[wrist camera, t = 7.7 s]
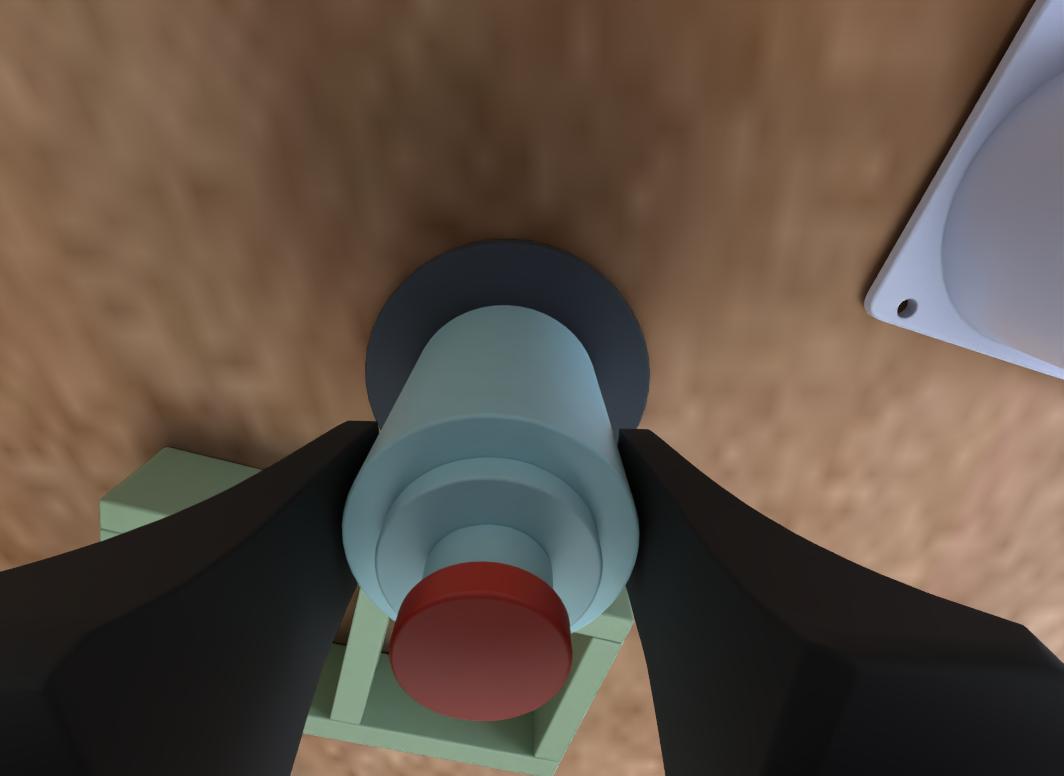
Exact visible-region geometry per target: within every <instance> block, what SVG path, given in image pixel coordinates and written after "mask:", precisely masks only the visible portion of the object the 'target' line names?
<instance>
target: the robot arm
mask: <svg viewBox="0 0 1064 776" xmlns="http://www.w3.org/2000/svg"><path fill="white" fill-rule="evenodd" d="M905 300H907V301H908V304H907V307H906V308H905V309H904V310H903V312H901V313H898V314H897V309H898V306H899V305H900V304H901V303H902V301H905ZM864 309H865V310H866V312H867V314H869V315H870V316H872V317H874V318H876V319H878V320H880V321H883V322H886V323H890V324H893V325H896V326H899V327H902V328H905V329H908V330H911V331H914V332H917V333H920V334H924V335H927V336H930V337H933V338H936V339H939V340H942V341H945V342H948V343H951V344H954V345H957V346H961V347H964V348H967V349H970V350H973V351H976V352H979V353H982V354H985V355H988V356H991V357H995V358H998V359H1001V360H1004V361H1007V362H1010V363H1013V364H1016V365H1019V366H1022V367H1025V368H1028V369H1032V370H1035V371H1038V372H1041V373H1044V374H1047V375H1050V376H1053V377H1056V378H1059V379H1062V380H1064V0H1036V1H1035V3H1034V4H1033V6H1032V8H1031V10H1030V11H1029V13H1028V15H1027V17H1026V18H1025V20H1024V22H1023V23H1022V25H1021V27H1020V29H1019V30H1018V32H1017V34H1016V36H1015V37H1014V39H1013V41H1012V43H1011V44H1010V46H1009V48H1008V50H1007V51H1006V53H1005V55H1004V57H1003V58H1002V60H1001V62H1000V63H999V65H998V67H997V69H996V70H995V72H994V74H993V76H992V77H991V79H990V81H989V83H988V84H987V86H986V88H985V90H984V91H983V93H982V95H981V97H980V98H979V100H978V102H977V103H976V105H975V107H974V109H973V110H972V112H971V114H970V116H969V117H968V119H967V121H966V123H965V124H964V126H963V128H962V130H961V131H960V133H959V135H958V137H957V138H956V140H955V142H954V143H953V145H952V147H951V149H950V150H949V152H948V154H947V156H946V157H945V159H944V161H943V163H942V164H941V166H940V168H939V170H938V171H937V173H936V175H935V177H934V178H933V180H932V182H931V183H930V185H929V187H928V189H927V190H926V192H925V194H924V196H923V197H922V199H921V201H920V203H919V204H918V206H917V208H916V210H915V211H914V213H913V215H912V217H911V218H910V220H909V222H908V223H907V225H906V227H905V229H904V230H903V232H902V234H901V236H900V237H899V239H898V241H897V243H896V244H895V246H894V248H893V250H892V251H891V253H890V255H889V257H888V258H887V260H886V262H885V263H884V265H883V267H882V269H881V270H880V272H879V274H878V276H877V277H876V279H875V281H874V283H873V284H872V286H871V288H870V290H869V291H868V293H867V295H866V298H865V300H864ZM378 435H379V428H378V421H347V422H345V423H342V424H340V425H339V426H337V427H335V428H333V429H331V430H330V431H328V432H326V433H325V434H323V435H321V436H320V437H318V438H316V439H315V440H313V441H312V442H310V443H308V444H307V445H305V446H303V447H302V448H300V449H298V450H297V451H295V452H293V453H292V454H290V455H288V456H287V457H285V458H283V459H282V460H280V461H278V462H277V463H275V464H273V465H271V466H269V467H268V468H266V469H264V470H262V471H260V472H258V473H257V474H255V475H253V476H251V477H249V478H247V479H246V480H244V481H242V482H240V483H238V484H236V485H235V486H233V487H231V488H229V489H227V490H225V491H223V492H221V493H219V494H217V495H215V496H212V497H210V498H208V499H206V500H204V501H202V502H200V503H197V504H195V505H193V506H190V507H188V508H186V509H184V510H181V511H179V512H177V513H175V514H172V515H170V516H167V517H165V518H162V519H160V520H157V521H154V522H152V523H149V524H146V525H144V526H141V527H138V528H136V529H133V530H130V531H128V532H125V533H122V534H120V535H117V536H114V537H112V538H109V539H106V540H103V541H101V542H98V543H95V544H92V545H89V546H85V547H82V548H79V549H76V550H73V551H70V552H67V553H64V554H60V555H57V556H54V557H50V558H47V559H44V560H40V561H37V562H33V563H30V564H27V565H23V566H20V567H16V568H13V569H9V570H5V571H2V572H0V776H290V774H291V771H292V767H293V764H294V761H295V757H296V754H297V750H298V747H299V744H300V740H301V737H302V733H303V730H304V727H305V723H306V720H307V716H308V713H309V710H310V707H311V704H312V701H313V697H314V694H315V691H316V688H317V685H318V682H319V678H320V675H321V672H322V669H323V666H324V663H325V660H326V657H327V655H328V652H329V650H330V647H331V644H332V642H333V639H334V637H335V635H336V632H337V630H338V628H339V625H340V623H341V621H342V618H343V616H344V614H345V611H346V609H347V607H348V605H349V602H350V600H351V598H352V595H353V593H354V591H355V588H356V586H357V584H358V582H357V581H356V579H355V577H354V575H353V574H352V571H351V569H350V566H349V564H348V561H347V559H346V554H345V550H344V545H343V538H342V519H343V510H344V506H345V503H346V499H347V496H348V493H349V491H350V489H351V487H352V485H353V483H354V481H355V478H356V477H357V475H358V473H359V471H360V469H361V467H362V465H363V463H364V461H365V460H366V458H367V456H368V454H369V452H370V450H371V448H372V446H373V444H374V442H375V441H376V439H377V437H378ZM617 447H618V450H619V453H620V457H621V460H622V463H623V467H624V470H625V473H626V476H627V480H628V483H629V486H630V489H631V493H632V496H633V499H634V503H635V507H636V510H637V514H638V519H639V530H640V537H639V549H638V553H637V558H636V562H635V565H634V568H633V570H632V573H631V575H630V577H629V580H628V581H627V583H626V585H625V586H626V590H627V593H628V597H629V600H630V604H631V607H632V611H633V614H634V618H635V622H636V625H637V629H638V632H639V636H640V639H641V643H642V647H643V651H644V655H645V659H646V664H647V668H648V673H649V679H650V685H651V691H652V696H653V702H654V708H655V714H656V719H657V725H658V732H659V738H660V744H661V751H662V757H663V763H664V769H665V776H1064V664H1063V663H1062V662H1061V661H1060V660H1059V659H1058V658H1057V657H1056V656H1055V655H1054V654H1053V653H1052V652H1051V651H1050V650H1049V649H1048V648H1047V647H1046V646H1045V645H1044V644H1043V643H1042V642H1041V641H1040V640H1039V639H1038V638H1037V637H1036V636H1035V635H1034V634H1033V633H1031V632H1030V631H1029V630H1028V629H1027V628H1026V627H1025V626H1023V625H1021V624H1018V623H1015V622H1012V621H1009V620H1006V619H1003V618H1000V617H997V616H994V615H991V614H988V613H985V612H982V611H979V610H976V609H973V608H970V607H967V606H964V605H961V604H958V603H956V602H953V601H950V600H947V599H944V598H941V597H938V596H935V595H932V594H929V593H927V592H924V591H921V590H919V589H916V588H914V587H911V586H909V585H906V584H904V583H901V582H899V581H896V580H894V579H891V578H889V577H886V576H884V575H881V574H879V573H877V572H874V571H872V570H870V569H867V568H865V567H863V566H861V565H858V564H856V563H854V562H852V561H849V560H847V559H845V558H843V557H841V556H839V555H837V554H835V553H833V552H831V551H829V550H827V549H825V548H823V547H820V546H818V545H816V544H814V543H812V542H810V541H808V540H807V539H805V538H803V537H801V536H799V535H797V534H795V533H793V532H792V531H790V530H788V529H786V528H785V527H783V526H781V525H780V524H778V523H776V522H774V521H773V520H771V519H769V518H768V517H766V516H764V515H762V514H761V513H759V512H758V511H756V510H755V509H753V508H751V507H750V506H748V505H747V504H745V503H744V502H742V501H741V500H740V499H738V498H737V497H735V496H734V495H732V494H731V493H729V492H728V491H727V490H725V489H724V488H722V487H721V486H720V485H718V484H717V483H716V482H714V481H713V480H712V479H710V478H709V477H708V476H706V475H705V474H704V473H702V472H701V471H700V470H699V469H697V468H696V467H695V466H694V465H692V464H691V463H690V462H689V461H687V460H686V459H685V458H684V457H682V456H681V455H680V454H679V453H678V452H676V451H675V450H674V449H673V448H672V447H670V446H669V445H668V444H667V443H666V442H664V441H663V440H662V439H661V438H659V437H658V436H657V435H656V434H654V433H653V432H652V431H650V430H649V429H619V437H618V446H617Z"/></svg>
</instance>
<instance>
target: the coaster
mask: <svg viewBox="0 0 1064 776" xmlns="http://www.w3.org/2000/svg"><path fill="white" fill-rule="evenodd" d="M496 305H510V306H520V307H525V308H529V309H533V310H536V311H538V312H541V313H544V314H546V315H548V316H550V317H551V318H553V319H555V320H557V321H558V322H560V323H561V324H562V325H564V326H565V327H566V328H567V329H568V330H570V331H571V332H572V333H573V334H574V335H575V336H576V338H577V339H578V340H579V341H580V342H581V344H582V345H583V347H584V348H585V350H586V352H587V353H588V355H589V358H590V360H591V362H592V365H593V368H594V371H595V375H596V378H597V381H598V385H599V388H600V391H601V394H602V398H603V401H604V404H605V408H606V411H607V414H608V417H609V421H610V424H611V427H612V430H613V434H614V437H615V440H616V444H617V446H618V437H619V429H637V427H638V425H639V423H640V421H641V418H642V415H643V412H644V410H645V406H646V402H647V397H648V392H649V380H650V369H649V357H648V352H647V348H646V343H645V339H644V336H643V334H642V331H641V329H640V326H639V323H638V321H637V320H636V318H635V316H634V314H633V312H632V310H631V309H630V307H629V305H628V304H627V302H626V301H625V300H624V298H623V297H622V296H621V294H620V293H619V292H618V290H617V289H616V288H615V287H614V286H613V285H612V284H611V283H610V282H609V281H608V280H607V279H606V278H605V277H604V276H603V275H602V274H601V273H600V272H599V271H597V270H596V269H595V268H593V267H592V266H591V265H589V264H588V263H587V262H585V261H583V260H581V259H579V258H578V257H576V256H574V255H572V254H570V253H568V252H566V251H563V250H561V249H558V248H555V247H553V246H550V245H546V244H542V243H538V242H533V241H526V240H517V239H493V240H486V241H480V242H474V243H470V244H466V245H463V246H460V247H457V248H454V249H451V250H449V251H447V252H445V253H443V254H441V255H438V256H436V257H434V258H433V259H431V260H430V261H428V262H427V263H425V264H424V265H422V266H421V267H419V268H418V269H417V270H416V271H415V272H414V273H412V274H411V275H410V276H409V277H408V278H407V279H406V280H405V281H404V282H403V283H402V284H401V285H400V286H399V287H398V288H397V290H396V291H395V292H394V293H393V294H392V295H391V297H390V298H389V299H388V301H387V302H386V304H385V306H384V307H383V309H382V310H381V312H380V314H379V316H378V318H377V320H376V322H375V325H374V327H373V329H372V332H371V336H370V340H369V343H368V347H367V355H366V363H365V373H366V387H367V392H368V398H369V402H370V405H371V408H372V411H373V414H374V417H375V419H376V421H378V425H379V428H380V430H381V429H382V427H383V425H384V424H385V422H386V420H387V418H388V416H389V414H390V412H391V410H392V408H393V406H394V405H395V403H396V401H397V399H398V397H399V395H400V393H401V391H402V389H403V387H404V386H405V384H406V382H407V380H408V378H409V376H410V374H411V372H412V370H413V369H414V367H415V365H416V363H417V361H418V359H419V357H420V355H421V353H422V351H423V350H424V348H425V346H426V345H427V343H428V342H429V341H430V339H431V338H432V337H433V336H434V335H435V334H436V332H437V331H438V330H439V329H441V328H442V327H443V326H444V325H445V324H447V323H448V322H450V321H451V320H453V319H454V318H456V317H458V316H460V315H462V314H464V313H466V312H469V311H472V310H475V309H478V308H482V307H488V306H496Z"/></svg>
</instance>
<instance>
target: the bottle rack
mask: <svg viewBox="0 0 1064 776" xmlns="http://www.w3.org/2000/svg"><path fill="white" fill-rule="evenodd" d="M260 471H262V470H261V469H257V468H252V467H248V466H244V465H240V464H236V463H232V462H228V461H223V460H219V459H215V458H211V457H207V456H203V455H199V454H195V453H190V452H186V451H182V450H178V449H174V448H170V447H165V448H163V449H162V450H161V451H159V452H158V453H157V454H156V455H154V456H153V457H152V458H151V459H149V460H148V461H147V462H146V463H145V464H143V465H142V466H141V467H140V468H138V469H137V470H136V471H135V472H133V473H132V474H131V475H130V476H129V477H127V478H126V479H125V480H124V481H122V482H121V483H120V484H119V485H117V486H116V487H115V488H114V489H113V490H111V491H110V492H109V493H108V494H106V495H105V496H104V497H103V498H101V500H100V502H99V508H100V527H101V530H100V542H101V541H103V540H106V539H109V538H112V537H114V536H117V535H120V534H122V533H125V532H128V531H130V530H133V529H136V528H138V527H141V526H144V525H146V524H149V523H152V522H154V521H157V520H160V519H162V518H165V517H167V516H170V515H172V514H175V513H177V512H179V511H181V510H184V509H186V508H188V507H190V506H193V505H195V504H197V503H200V502H202V501H204V500H206V499H208V498H210V497H212V496H215V495H217V494H219V493H221V492H223V491H225V490H227V489H229V488H231V487H233V486H235V485H236V484H238V483H240V482H242V481H244V480H246V479H247V478H249V477H251V476H253V475H255V474H257V473H258V472H260ZM357 585H359V584H357ZM389 621H390V617H389V616H387V615H386V614H385V613H384V612H382V611H381V610H380V609H379V608H378V607H377V606H376V605H375V604H374V603H373V602H372V601H371V600H370V599H369V598H368V596H367V595H366V594H365V592H364V591H363V590H362V589H361V587H360V590H359V594H358V598H357V603H356V607H355V611H354V616H353V620H352V624H351V629H350V633H349V637H348V642H347V646H345V645H340V644H335V643H332V644H331V647H330V650H329V652H328V655H327V657H326V660H325V663H324V666H323V669H322V672H321V675H320V678H319V682H318V685H317V688H316V691H315V694H314V697H313V701H312V704H311V707H310V710H309V713H308V716H307V720H306V723H305V727H304V730H303V734H309V735H314V736H320V737H325V738H331V739H336V740H342V741H347V742H353V743H358V744H364V745H369V746H375V747H380V748H386V749H391V750H397V751H402V752H408V753H413V754H419V755H424V756H430V757H435V758H441V759H446V760H452V761H457V762H463V763H468V764H474V765H479V766H485V767H490V768H496V769H501V770H507V771H512V772H518V773H523V774H529V775H534V776H553V775H554V773H555V771H556V769H557V767H558V765H559V763H560V761H561V760H562V758H563V756H564V754H565V752H566V750H567V748H568V746H569V744H570V742H571V741H572V739H573V737H574V735H575V733H576V731H577V729H578V727H579V725H580V724H581V722H582V720H583V718H584V716H585V714H586V712H587V710H588V708H589V707H590V705H591V703H592V701H593V699H594V697H595V695H596V693H597V691H598V690H599V688H600V686H601V684H602V682H603V680H604V678H605V676H606V674H607V672H608V671H609V669H610V667H611V665H612V663H613V661H614V659H615V657H616V655H617V654H618V652H619V650H620V648H621V646H622V642H624V640H625V638H626V636H627V634H628V632H629V630H630V628H631V626H632V625H633V623H634V618H633V613H632V609H631V605H630V600H629V597H628V593H627V590H626V586H624V588H623V590H622V591H621V593H620V594H619V595H618V597H617V598H616V599H615V600H614V602H613V603H612V604H611V605H610V606H609V607H608V608H607V609H606V610H605V611H604V612H603V613H602V614H601V615H599V616H598V617H597V618H595V619H594V620H593V621H591V622H590V623H589V624H587V625H586V626H584V627H582V628H581V629H579V630H577V631H575V632H574V633H572V634H571V640H572V651H573V661H572V666H571V670H570V672H569V675H568V678H567V680H566V682H565V683H564V685H563V687H562V688H561V689H560V690H559V692H558V693H557V694H556V695H555V696H554V697H553V698H552V699H551V700H549V701H548V702H547V703H545V704H544V705H542V706H541V707H539V708H537V709H535V710H533V711H531V712H529V713H526V714H524V715H521V716H517V717H514V718H509V719H504V720H497V721H469V720H462V719H457V718H453V717H448V716H445V715H442V714H439V713H437V712H435V711H432V710H430V709H428V708H426V707H425V706H423V705H421V704H419V703H418V702H417V701H415V700H414V699H413V698H411V697H410V696H409V695H408V694H407V693H406V692H405V691H404V690H403V688H402V687H401V686H400V685H399V683H398V682H397V680H396V678H395V676H394V674H393V671H392V669H391V664H390V659H389V654H384V653H381V651H382V647H383V643H384V640H385V636H386V632H387V629H388V625H389Z"/></svg>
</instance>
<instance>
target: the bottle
mask: <svg viewBox="0 0 1064 776" xmlns="http://www.w3.org/2000/svg"><path fill="white" fill-rule="evenodd" d="M639 537H640V530H639V519H638V514H637V510H636V507H635V503H634V499H633V496H632V493H631V489H630V486H629V483H628V480H627V476H626V473H625V470H624V467H623V463H622V460H621V457H620V453H619V450H618V447H617V444H616V440H615V437H614V434H613V430H612V427H611V424H610V421H609V417H608V414H607V411H606V408H605V404H604V401H603V398H602V394H601V391H600V388H599V385H598V381H597V378H596V375H595V371H594V368H593V365H592V362H591V360H590V358H589V355H588V353H587V352H586V350H585V348H584V347H583V345H582V344H581V342H580V341H579V340H578V339H577V338H576V336H575V335H574V334H573V333H572V332H571V331H570V330H568V329H567V328H566V327H565V326H564V325H562V324H561V323H560V322H558V321H557V320H555V319H553V318H551V317H550V316H548V315H546V314H544V313H541V312H538V311H536V310H533V309H529V308H525V307H520V306H510V305H496V306H488V307H482V308H478V309H475V310H472V311H469V312H466V313H464V314H462V315H460V316H458V317H456V318H454V319H453V320H451V321H450V322H448V323H447V324H445V325H444V326H443V327H442V328H441V329H439V330H438V331H437V332H436V334H435V335H434V336H433V337H432V338H431V339H430V341H429V342H428V343H427V345H426V346H425V348H424V350H423V351H422V353H421V355H420V357H419V359H418V361H417V363H416V365H415V367H414V369H413V370H412V372H411V374H410V376H409V378H408V380H407V382H406V384H405V386H404V387H403V389H402V391H401V393H400V395H399V397H398V399H397V401H396V403H395V405H394V406H393V408H392V410H391V412H390V414H389V416H388V418H387V420H386V422H385V424H384V425H383V427H382V429H381V431H380V433H379V435H378V437H377V439H376V441H375V442H374V444H373V446H372V448H371V450H370V452H369V454H368V456H367V458H366V460H365V461H364V463H363V465H362V467H361V469H360V471H359V473H358V475H357V477H356V478H355V481H354V483H353V485H352V487H351V489H350V491H349V493H348V496H347V499H346V503H345V506H344V510H343V519H342V538H343V545H344V550H345V554H346V559H347V561H348V564H349V566H350V569H351V571H352V574H353V575H354V577H355V579H356V581H357V582H358V584H359V586H360V587H361V589H362V590H363V591H364V592H365V594H366V595H367V596H368V598H369V599H370V600H371V601H372V602H373V603H374V604H375V605H376V606H377V607H378V608H379V609H380V610H381V611H382V612H384V613H385V614H386V615H387V616H389V617H390V618H391V619H392V620H394V621H395V626H394V629H393V633H392V636H391V640H390V645H389V659H390V664H391V669H392V671H393V674H394V676H395V678H396V680H397V682H398V683H399V685H400V686H401V687H402V688H403V690H404V691H405V692H406V693H407V694H408V695H409V696H410V697H411V698H413V699H414V700H415V701H417V702H418V703H419V704H421V705H423V706H425V707H426V708H428V709H430V710H432V711H435V712H437V713H439V714H442V715H445V716H448V717H453V718H457V719H462V720H469V721H497V720H504V719H509V718H514V717H517V716H521V715H524V714H526V713H529V712H531V711H533V710H535V709H537V708H539V707H541V706H542V705H544V704H545V703H547V702H548V701H549V700H551V699H552V698H553V697H554V696H555V695H556V694H557V693H558V692H559V690H560V689H561V688H562V687H563V685H564V683H565V682H566V680H567V678H568V675H569V672H570V670H571V666H572V661H573V651H572V640H571V634H572V633H574V632H575V631H577V630H579V629H581V628H582V627H584V626H586V625H587V624H589V623H590V622H591V621H593V620H594V619H595V618H597V617H598V616H599V615H601V614H602V613H603V612H604V611H605V610H606V609H607V608H608V607H609V606H610V605H611V604H612V603H613V602H614V600H615V599H616V598H617V597H618V595H619V594H620V593H621V591H622V590H623V588H624V586H625V585H626V583H627V581H628V580H629V577H630V575H631V573H632V570H633V568H634V565H635V562H636V558H637V553H638V549H639Z"/></svg>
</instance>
